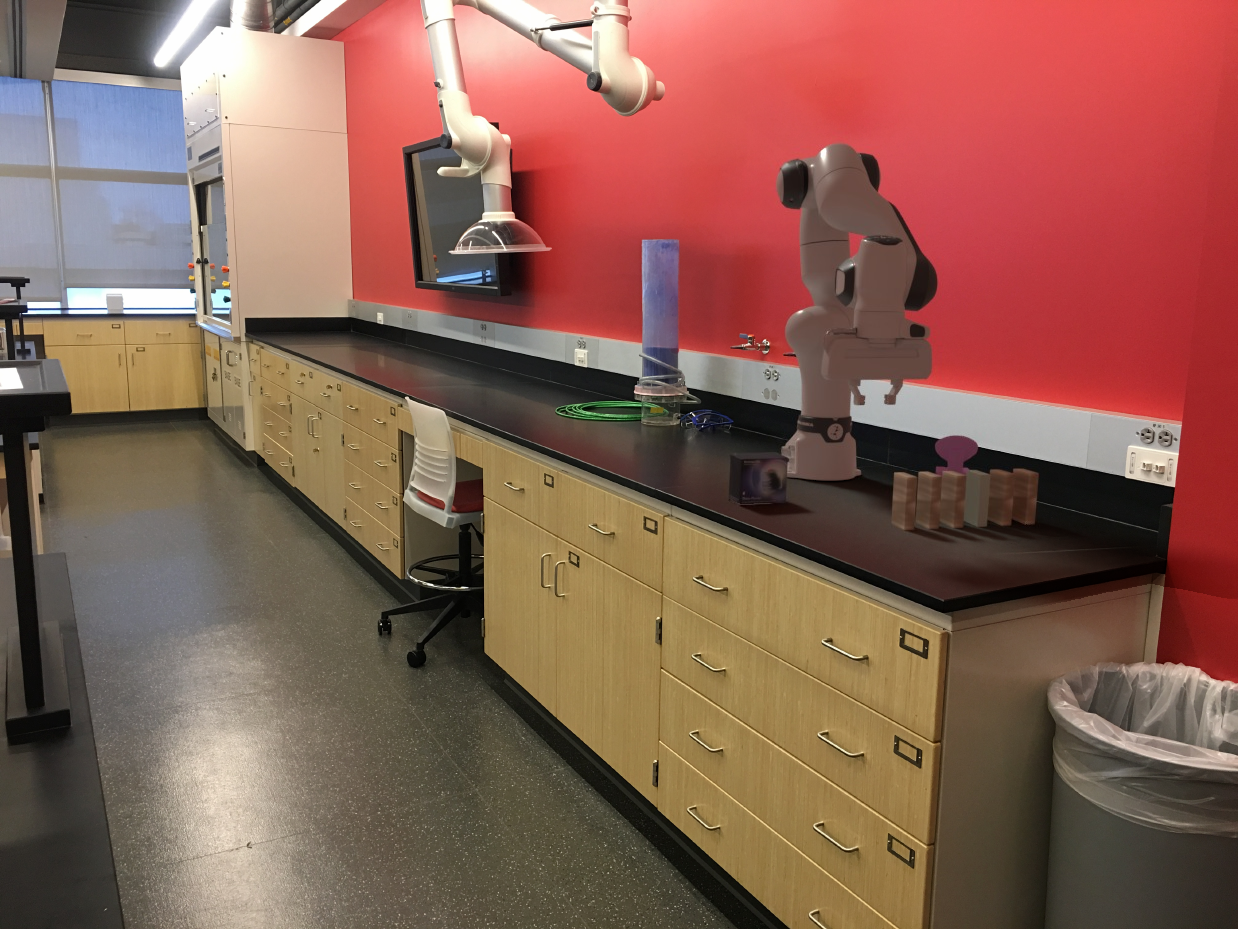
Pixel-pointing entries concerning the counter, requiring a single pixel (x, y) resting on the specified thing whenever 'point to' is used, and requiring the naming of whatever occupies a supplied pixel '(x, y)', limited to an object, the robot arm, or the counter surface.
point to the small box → (758, 477)
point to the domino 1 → (904, 501)
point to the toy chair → (955, 453)
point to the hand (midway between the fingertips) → (874, 404)
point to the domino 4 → (976, 498)
